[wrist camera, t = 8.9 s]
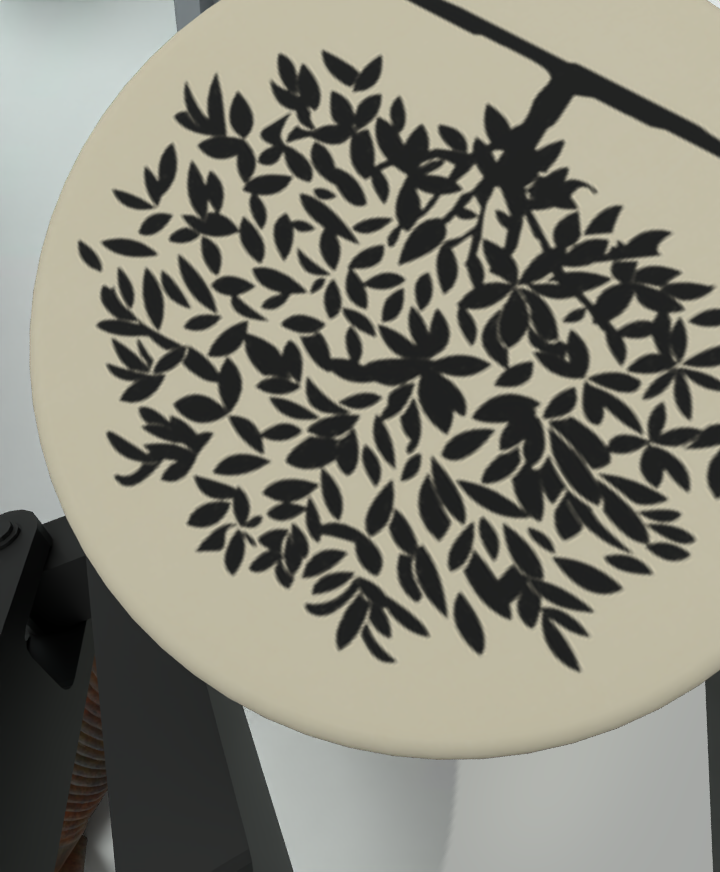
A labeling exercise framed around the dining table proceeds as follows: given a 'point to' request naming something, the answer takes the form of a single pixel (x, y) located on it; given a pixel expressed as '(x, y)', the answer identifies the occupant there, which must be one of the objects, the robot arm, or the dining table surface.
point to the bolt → (83, 784)
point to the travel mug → (402, 363)
